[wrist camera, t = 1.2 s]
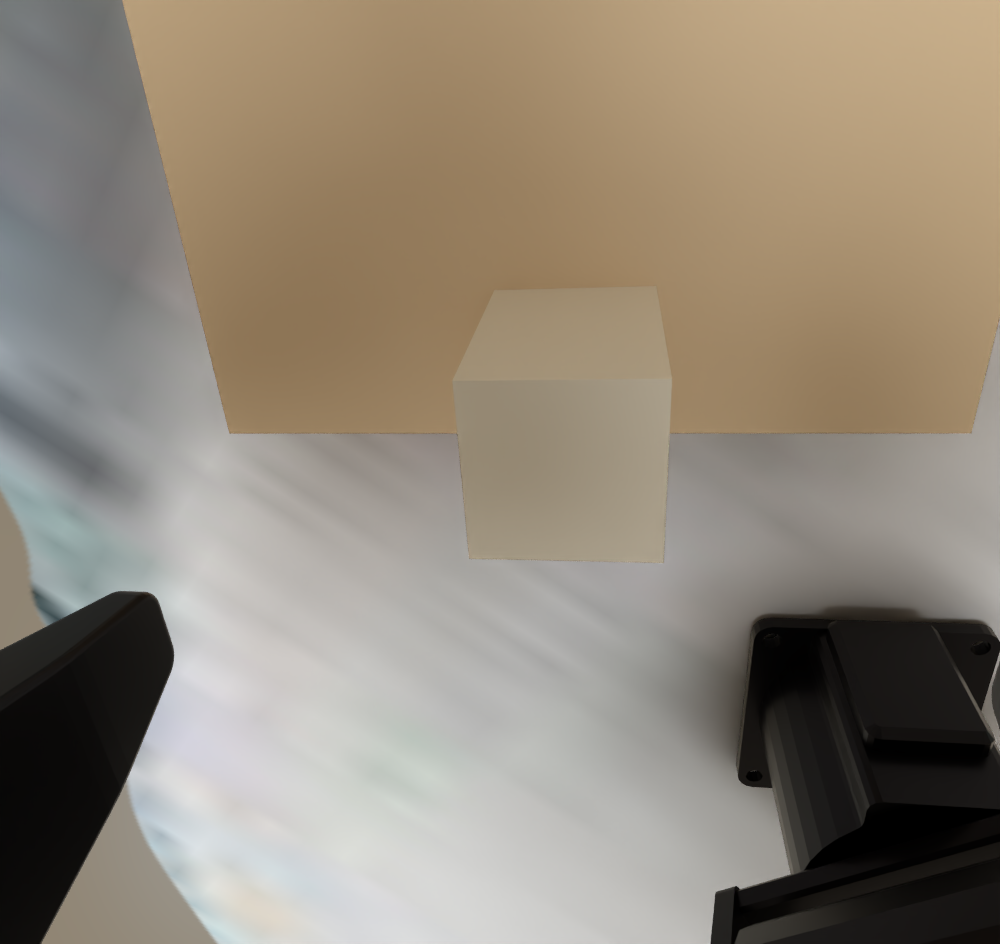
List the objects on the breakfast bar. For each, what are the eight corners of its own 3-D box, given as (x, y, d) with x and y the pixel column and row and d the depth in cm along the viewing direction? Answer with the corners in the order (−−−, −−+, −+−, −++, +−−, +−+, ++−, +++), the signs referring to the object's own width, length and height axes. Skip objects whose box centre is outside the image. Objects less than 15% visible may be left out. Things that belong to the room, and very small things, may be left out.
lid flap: (958, 420, 16) (1095, 572, 11) (240, 421, 18) (117, 550, 13) (1164, -450, 10) (1607, -837, 6) (69, -299, 12) (-248, -489, 8)
